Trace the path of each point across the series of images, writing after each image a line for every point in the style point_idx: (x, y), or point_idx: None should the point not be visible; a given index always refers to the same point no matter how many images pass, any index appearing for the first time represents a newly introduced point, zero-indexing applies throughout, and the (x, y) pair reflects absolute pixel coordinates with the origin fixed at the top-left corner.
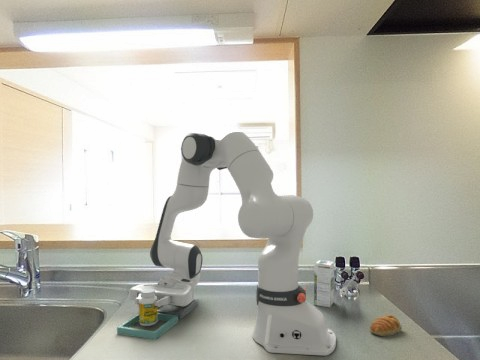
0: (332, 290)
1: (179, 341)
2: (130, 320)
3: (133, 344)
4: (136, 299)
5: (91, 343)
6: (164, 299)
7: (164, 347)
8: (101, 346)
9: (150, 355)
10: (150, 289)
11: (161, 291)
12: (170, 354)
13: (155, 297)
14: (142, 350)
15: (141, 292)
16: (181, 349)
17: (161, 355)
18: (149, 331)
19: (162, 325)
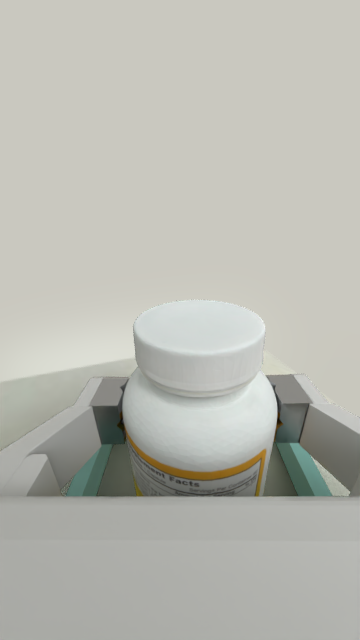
0: None
1: (16, 432)
2: (302, 470)
3: None
4: (290, 375)
5: (276, 363)
6: (48, 427)
7: (71, 392)
8: None
9: (102, 363)
10: (196, 334)
11: (101, 544)
12: (51, 375)
13: (134, 387)
14: (129, 371)
15: (227, 306)
16: (16, 396)
17: (74, 368)
18: None
19: (92, 467)
